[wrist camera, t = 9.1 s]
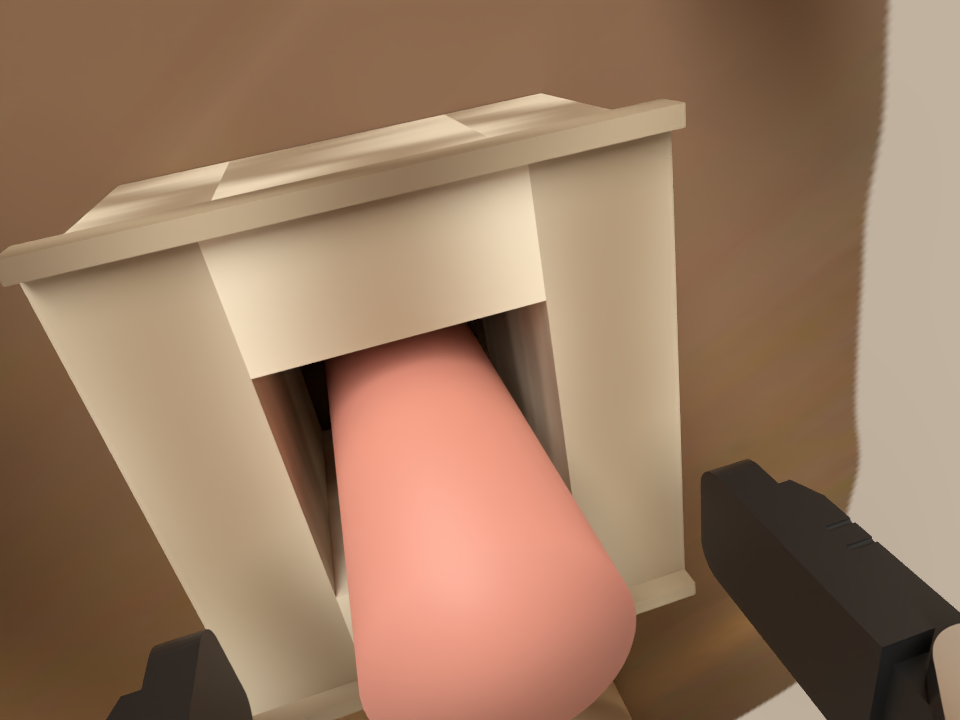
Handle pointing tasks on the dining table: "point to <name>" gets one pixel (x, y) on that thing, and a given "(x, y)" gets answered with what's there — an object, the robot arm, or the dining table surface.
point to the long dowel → (464, 544)
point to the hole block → (367, 323)
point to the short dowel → (606, 707)
